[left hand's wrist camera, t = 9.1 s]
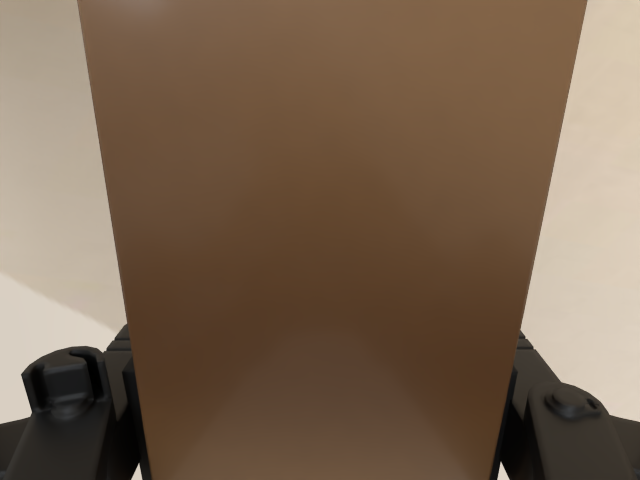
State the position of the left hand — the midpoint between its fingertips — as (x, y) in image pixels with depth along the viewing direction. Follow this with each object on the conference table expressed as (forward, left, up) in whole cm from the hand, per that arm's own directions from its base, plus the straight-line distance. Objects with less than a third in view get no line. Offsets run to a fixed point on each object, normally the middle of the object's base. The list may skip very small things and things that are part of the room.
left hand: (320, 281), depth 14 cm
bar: (+10, +30, -1) cm, 32 cm away
